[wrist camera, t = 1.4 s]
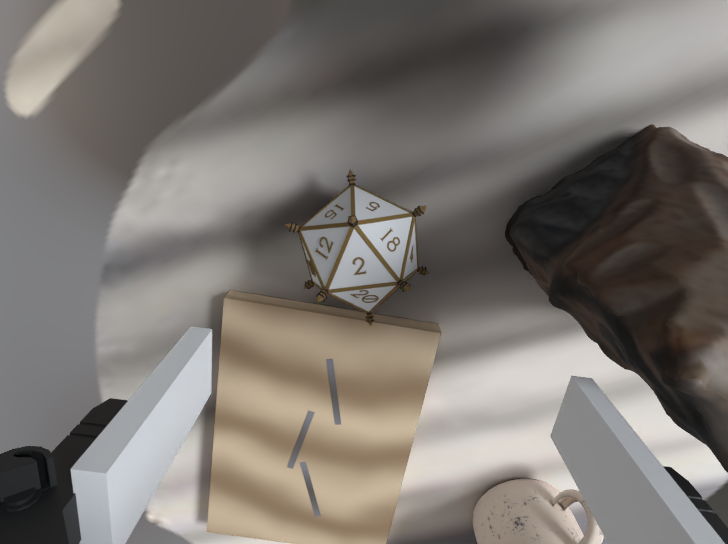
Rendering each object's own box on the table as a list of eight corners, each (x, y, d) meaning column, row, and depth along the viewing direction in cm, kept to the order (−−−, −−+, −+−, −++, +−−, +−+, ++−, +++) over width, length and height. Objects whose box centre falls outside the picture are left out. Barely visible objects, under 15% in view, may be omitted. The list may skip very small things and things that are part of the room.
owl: (685, 288, 33) (1118, 523, 14) (519, 340, 34) (702, 614, 15) (663, 119, 29) (1223, 127, 10) (475, 186, 30) (651, 303, 11)
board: (230, 290, 33) (223, 298, 32) (438, 324, 34) (441, 333, 32) (212, 517, 41) (206, 532, 39) (382, 540, 41) (382, 556, 40)
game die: (387, 221, 35) (479, 285, 28) (306, 292, 34) (381, 376, 27) (341, 129, 29) (445, 184, 22) (238, 213, 27) (315, 298, 21)
